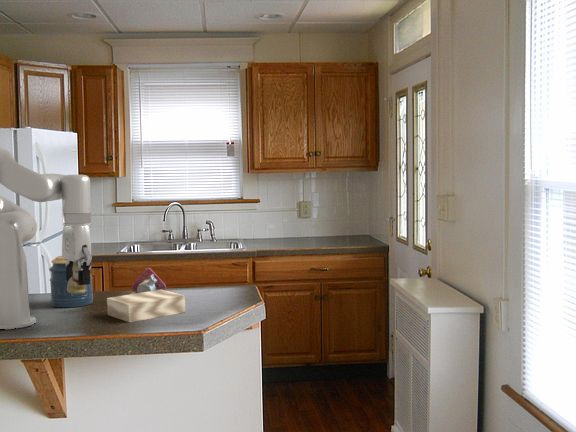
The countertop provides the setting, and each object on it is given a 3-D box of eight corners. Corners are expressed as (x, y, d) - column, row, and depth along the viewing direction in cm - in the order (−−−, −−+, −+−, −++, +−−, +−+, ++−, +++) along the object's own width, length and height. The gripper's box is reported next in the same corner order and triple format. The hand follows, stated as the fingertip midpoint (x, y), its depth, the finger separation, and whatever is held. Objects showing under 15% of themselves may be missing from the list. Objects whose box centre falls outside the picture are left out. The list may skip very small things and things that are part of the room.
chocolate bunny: (64, 294, 198) (64, 258, 198) (68, 289, 206) (67, 254, 205) (85, 294, 199) (85, 258, 199) (88, 288, 207) (88, 254, 206)
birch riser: (129, 322, 203) (128, 304, 203) (107, 314, 214) (106, 298, 214) (185, 312, 214) (184, 295, 214) (162, 305, 225) (161, 289, 225)
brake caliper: (173, 290, 237) (164, 265, 229) (165, 316, 229) (155, 291, 221) (140, 290, 239) (130, 265, 231) (131, 316, 231) (120, 291, 223)
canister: (67, 310, 223) (64, 252, 222) (42, 305, 231) (39, 250, 230) (102, 302, 233) (99, 247, 232) (76, 298, 241) (73, 245, 240)
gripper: (51, 217, 205) (53, 279, 207) (76, 222, 192) (77, 288, 193) (77, 216, 210) (78, 276, 211) (103, 221, 196) (104, 285, 198)
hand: (78, 282), depth 202 cm, fingers closed on chocolate bunny, 7 cm apart
